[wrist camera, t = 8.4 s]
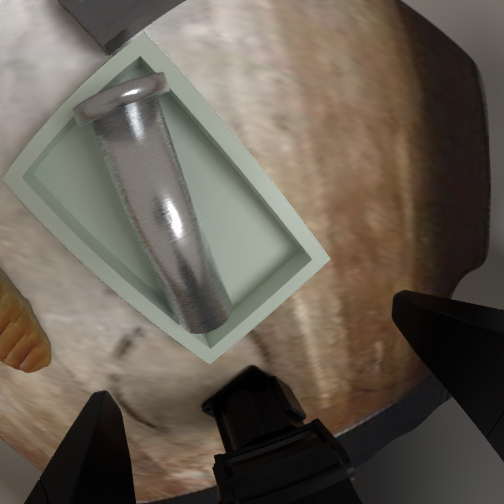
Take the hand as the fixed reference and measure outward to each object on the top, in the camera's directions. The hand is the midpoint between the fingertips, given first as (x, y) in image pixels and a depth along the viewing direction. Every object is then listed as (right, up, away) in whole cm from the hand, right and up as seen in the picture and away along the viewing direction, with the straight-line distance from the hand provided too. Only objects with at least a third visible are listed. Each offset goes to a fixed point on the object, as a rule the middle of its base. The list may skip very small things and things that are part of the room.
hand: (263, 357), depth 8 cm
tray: (-5, +6, +11) cm, 13 cm away
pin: (-3, -1, +11) cm, 12 cm away
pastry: (-19, -1, +9) cm, 21 cm away
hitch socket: (-8, +18, +5) cm, 21 cm away
